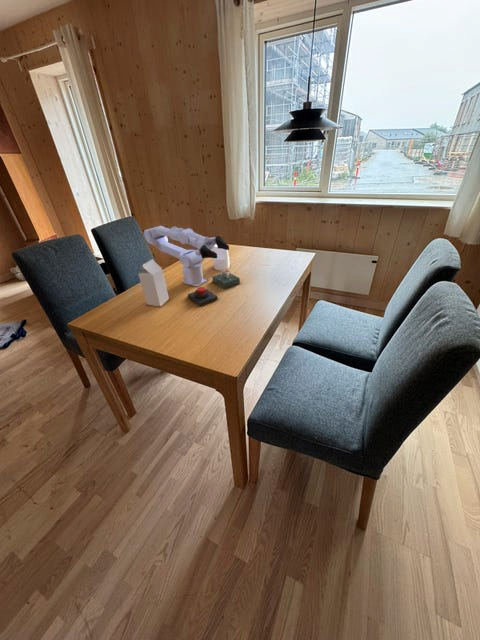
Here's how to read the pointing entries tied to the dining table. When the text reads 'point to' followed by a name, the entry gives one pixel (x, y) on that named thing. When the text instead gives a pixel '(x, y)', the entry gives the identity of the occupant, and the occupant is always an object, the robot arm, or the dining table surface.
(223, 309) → the dining table surface
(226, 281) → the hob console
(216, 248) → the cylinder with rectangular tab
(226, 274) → the hob knob
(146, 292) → the milk carton
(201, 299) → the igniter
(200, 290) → the button
